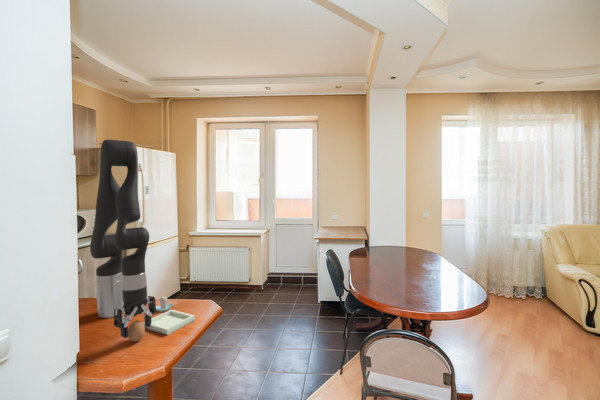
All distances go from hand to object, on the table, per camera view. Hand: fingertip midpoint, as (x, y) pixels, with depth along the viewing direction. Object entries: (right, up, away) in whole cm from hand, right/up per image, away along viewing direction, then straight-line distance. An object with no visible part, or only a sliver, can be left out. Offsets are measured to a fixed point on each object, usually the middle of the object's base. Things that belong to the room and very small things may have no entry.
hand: (136, 331), depth 109 cm
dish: (+6, -2, +13) cm, 14 cm away
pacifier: (-2, -2, +26) cm, 27 cm away
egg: (0, -4, 0) cm, 4 cm away
